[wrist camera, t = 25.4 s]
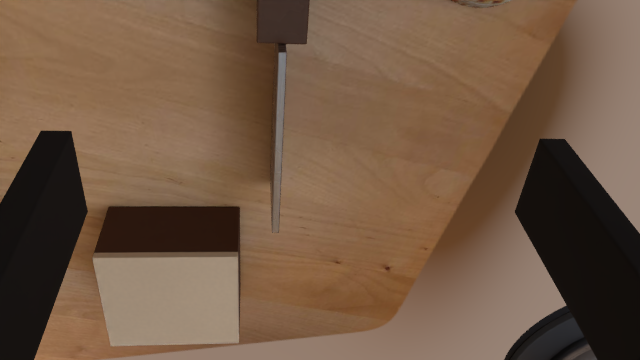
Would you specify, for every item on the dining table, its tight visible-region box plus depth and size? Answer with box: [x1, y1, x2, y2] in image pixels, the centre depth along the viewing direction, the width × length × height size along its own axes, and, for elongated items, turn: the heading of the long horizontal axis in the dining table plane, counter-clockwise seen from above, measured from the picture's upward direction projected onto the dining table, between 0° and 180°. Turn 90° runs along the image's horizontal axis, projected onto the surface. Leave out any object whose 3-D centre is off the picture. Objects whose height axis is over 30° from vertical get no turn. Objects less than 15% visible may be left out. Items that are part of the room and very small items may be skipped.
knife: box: [257, 0, 310, 233], centre depth 38 cm, size 23×3×6 cm, turn 176°
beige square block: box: [92, 207, 240, 346], centre depth 49 cm, size 10×10×6 cm
